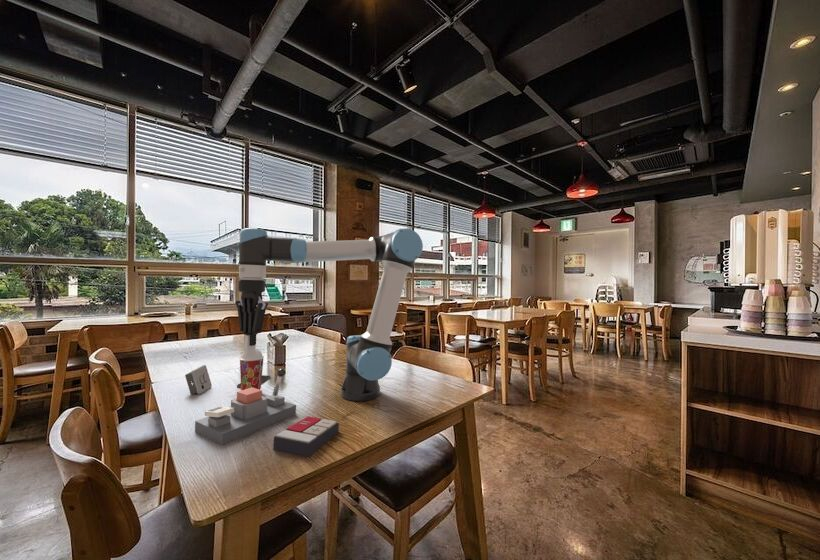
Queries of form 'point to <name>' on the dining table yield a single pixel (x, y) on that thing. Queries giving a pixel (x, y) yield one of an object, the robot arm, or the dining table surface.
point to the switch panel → (245, 419)
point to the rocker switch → (219, 411)
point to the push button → (249, 395)
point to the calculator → (305, 436)
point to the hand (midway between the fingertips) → (249, 355)
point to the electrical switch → (198, 380)
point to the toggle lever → (278, 381)
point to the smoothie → (251, 370)
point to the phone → (264, 378)
